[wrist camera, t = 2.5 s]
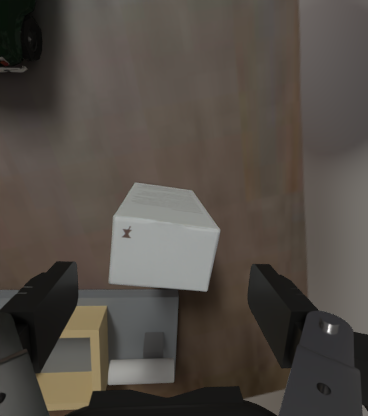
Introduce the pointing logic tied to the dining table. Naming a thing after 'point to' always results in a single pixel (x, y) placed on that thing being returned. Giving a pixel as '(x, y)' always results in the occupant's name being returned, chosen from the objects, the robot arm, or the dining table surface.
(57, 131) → the dining table surface
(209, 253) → the skincare box
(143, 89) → the dining table surface
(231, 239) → the dining table surface
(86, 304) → the stand
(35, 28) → the miniature car
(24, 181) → the dining table surface
